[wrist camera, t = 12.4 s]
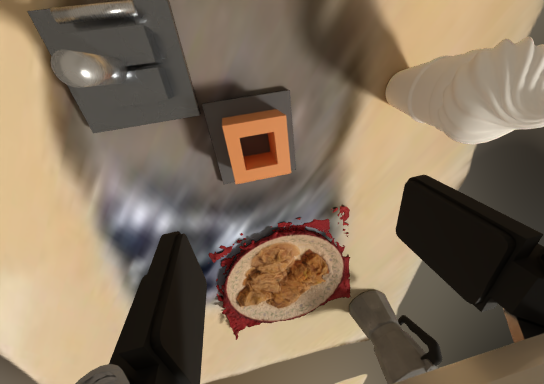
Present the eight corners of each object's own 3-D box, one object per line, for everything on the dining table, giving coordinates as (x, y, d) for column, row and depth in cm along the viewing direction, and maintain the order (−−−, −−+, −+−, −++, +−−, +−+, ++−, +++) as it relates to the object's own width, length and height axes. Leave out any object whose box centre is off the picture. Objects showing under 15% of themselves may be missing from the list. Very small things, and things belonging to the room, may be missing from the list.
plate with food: (345, 289, 48) (354, 303, 45) (233, 327, 45) (234, 344, 42) (344, 200, 37) (356, 211, 34) (193, 243, 34) (191, 259, 31)
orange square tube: (276, 109, 26) (286, 115, 22) (281, 159, 29) (291, 173, 25) (222, 118, 25) (222, 126, 21) (233, 169, 28) (235, 184, 24)
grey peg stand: (168, 0, 20) (128, -56, 11) (200, 113, 25) (189, 134, 16) (38, 14, 19) (-120, -37, 10) (99, 130, 24) (28, 163, 15)
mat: (287, 89, 26) (289, 90, 25) (294, 167, 30) (295, 169, 30) (202, 103, 24) (201, 104, 24) (223, 181, 29) (223, 184, 29)
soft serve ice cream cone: (369, 62, 26) (537, 48, 12) (433, 41, 26) (666, 5, 12) (371, 129, 30) (497, 176, 16) (426, 111, 30) (594, 141, 17)
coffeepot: (370, 319, 55) (428, 414, 40) (338, 321, 52) (387, 424, 37) (399, 276, 49) (482, 370, 33) (365, 275, 46) (437, 378, 30)
